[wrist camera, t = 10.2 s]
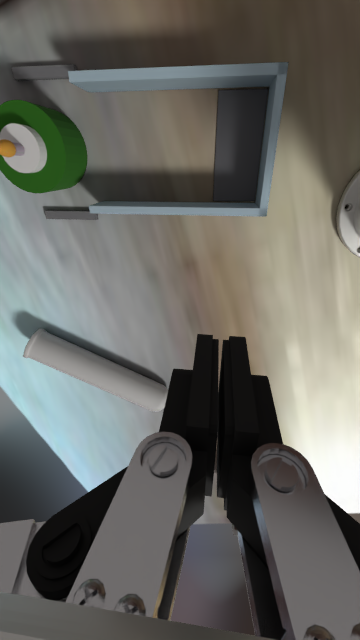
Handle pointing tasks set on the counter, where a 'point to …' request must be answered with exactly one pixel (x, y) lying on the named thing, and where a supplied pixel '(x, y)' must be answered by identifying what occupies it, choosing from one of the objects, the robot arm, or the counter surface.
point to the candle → (40, 147)
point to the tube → (95, 370)
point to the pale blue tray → (232, 130)
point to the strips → (46, 74)
